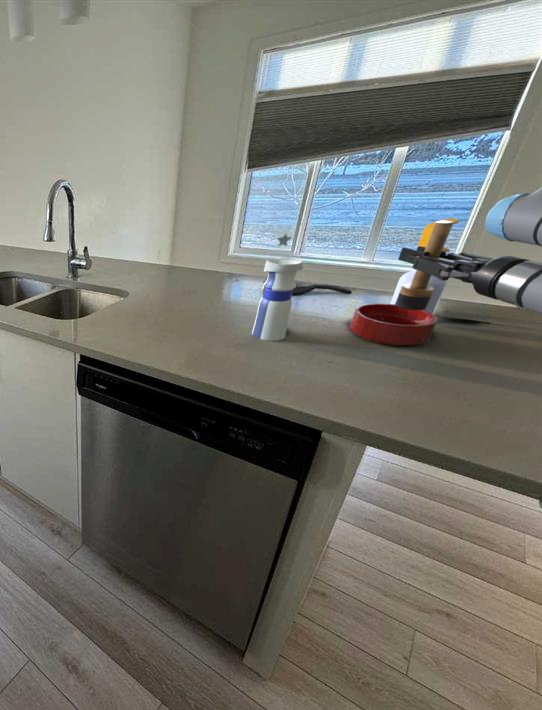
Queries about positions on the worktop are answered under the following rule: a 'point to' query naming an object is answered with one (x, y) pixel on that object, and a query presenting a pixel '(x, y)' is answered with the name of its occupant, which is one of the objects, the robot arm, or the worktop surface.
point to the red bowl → (392, 324)
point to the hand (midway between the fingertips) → (409, 253)
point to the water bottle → (276, 297)
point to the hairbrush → (303, 289)
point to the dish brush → (419, 290)
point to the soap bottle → (433, 280)
